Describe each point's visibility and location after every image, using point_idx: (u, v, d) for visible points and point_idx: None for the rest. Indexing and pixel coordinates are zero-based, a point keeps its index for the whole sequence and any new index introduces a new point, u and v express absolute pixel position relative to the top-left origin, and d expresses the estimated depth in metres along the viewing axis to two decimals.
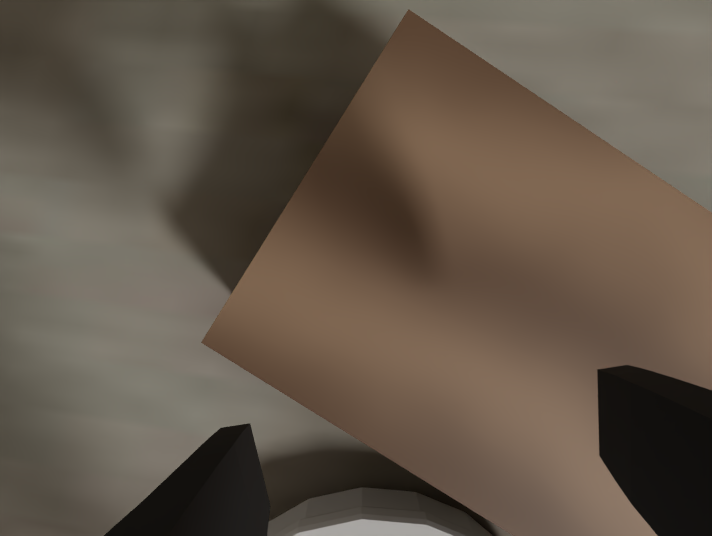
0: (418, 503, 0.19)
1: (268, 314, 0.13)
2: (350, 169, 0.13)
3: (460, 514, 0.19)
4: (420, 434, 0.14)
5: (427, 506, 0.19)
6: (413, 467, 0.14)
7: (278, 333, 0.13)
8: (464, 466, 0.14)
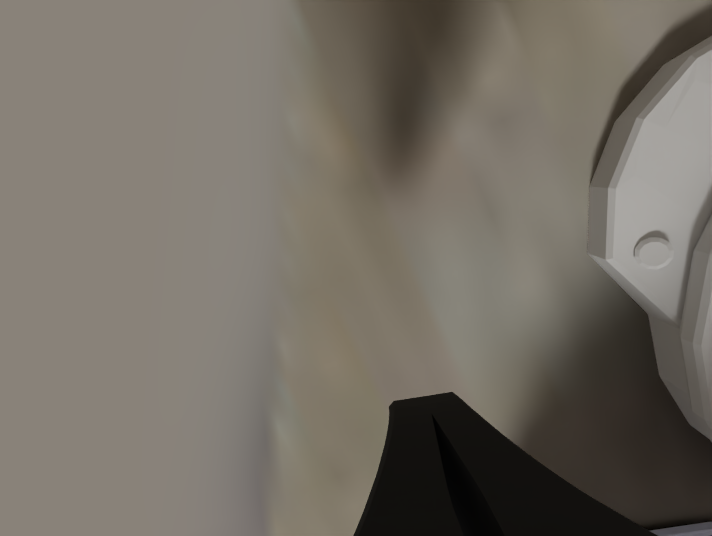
0: None
1: None
2: None
3: None
4: None
5: None
6: None
7: None
8: None
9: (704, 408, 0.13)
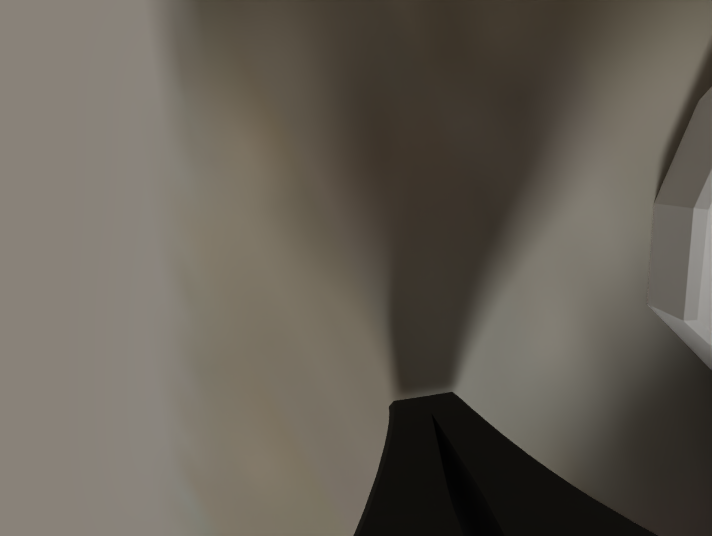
0: None
1: None
2: None
3: None
4: None
5: None
6: None
7: None
8: None
9: None
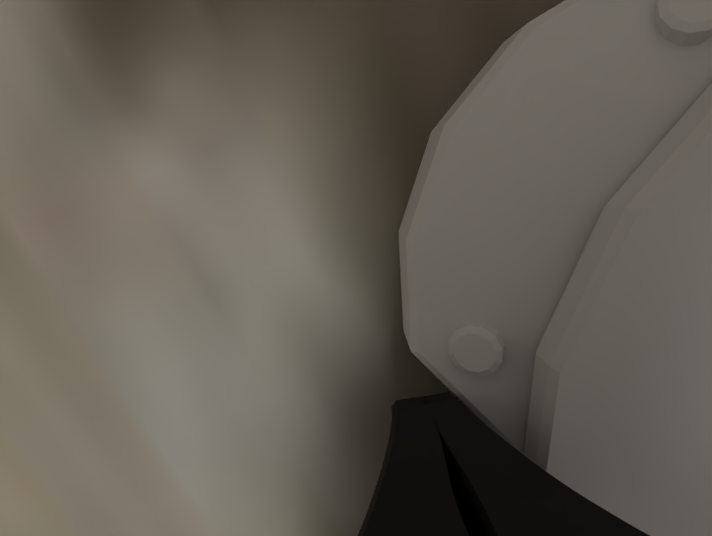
0: None
1: None
2: None
3: None
4: None
5: None
6: None
7: None
8: None
9: None
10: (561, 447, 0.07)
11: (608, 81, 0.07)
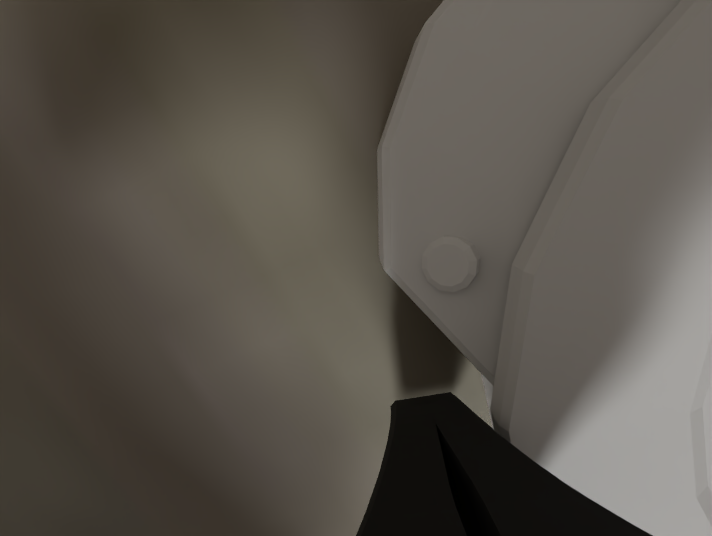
0: None
1: None
2: None
3: None
4: None
5: None
6: None
7: None
8: None
9: None
10: (532, 359, 0.07)
11: None
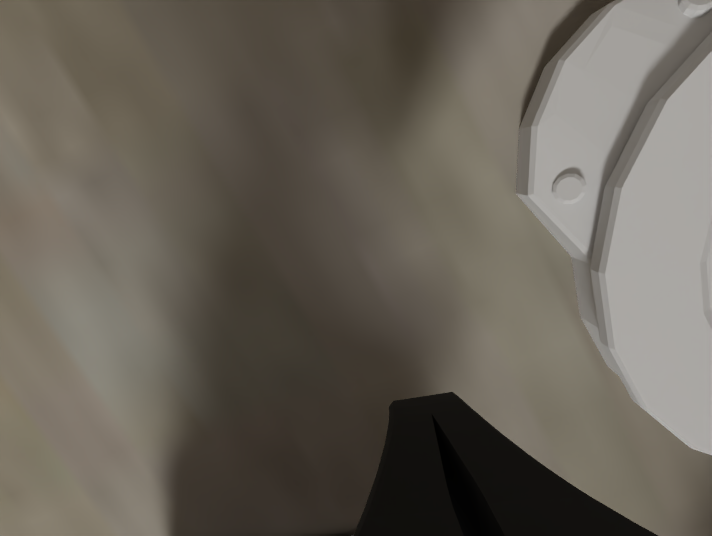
0: None
1: None
2: None
3: None
4: None
5: None
6: None
7: None
8: None
9: (608, 336, 0.14)
10: (619, 233, 0.13)
11: (652, 35, 0.13)
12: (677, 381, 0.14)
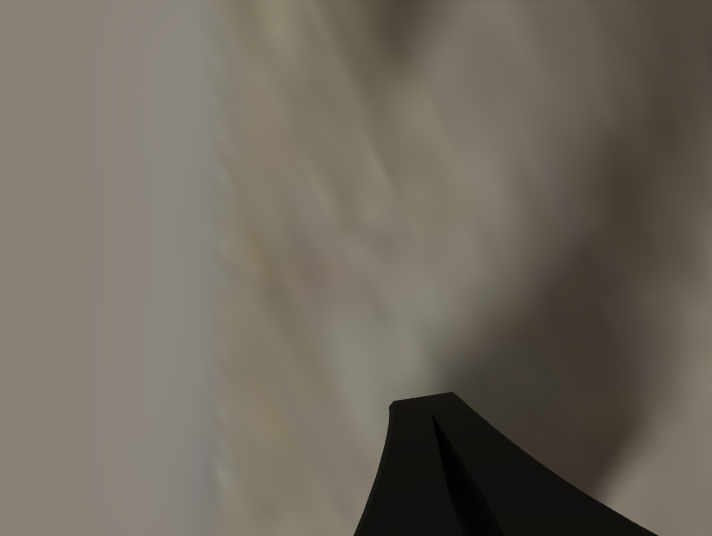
0: None
1: None
2: None
3: None
4: None
5: None
6: None
7: None
8: None
9: None
10: None
11: None
12: None
